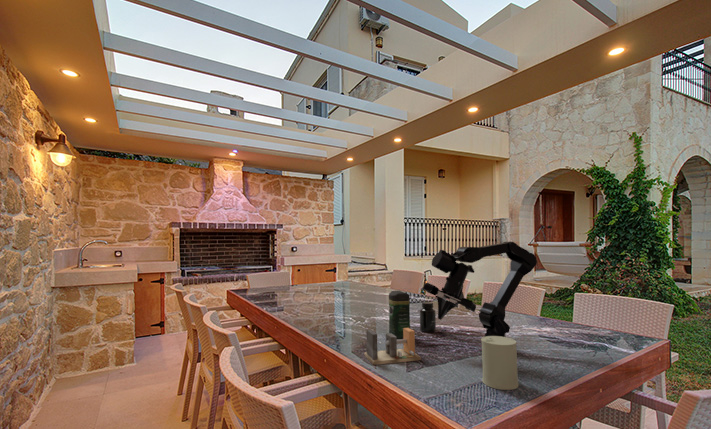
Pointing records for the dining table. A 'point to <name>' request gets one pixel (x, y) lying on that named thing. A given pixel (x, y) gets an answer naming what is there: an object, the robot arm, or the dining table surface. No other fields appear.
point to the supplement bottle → (427, 317)
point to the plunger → (407, 341)
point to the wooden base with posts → (391, 350)
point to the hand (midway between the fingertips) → (439, 319)
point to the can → (499, 362)
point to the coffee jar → (399, 313)
